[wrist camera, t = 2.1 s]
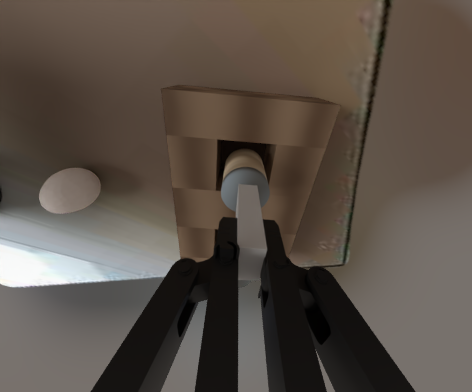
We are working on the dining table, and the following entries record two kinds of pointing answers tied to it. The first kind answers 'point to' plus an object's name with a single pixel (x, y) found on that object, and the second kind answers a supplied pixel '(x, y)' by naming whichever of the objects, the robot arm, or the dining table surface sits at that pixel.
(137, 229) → the dining table surface
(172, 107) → the walnut board
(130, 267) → the dining table surface
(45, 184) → the egg
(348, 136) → the dining table surface
